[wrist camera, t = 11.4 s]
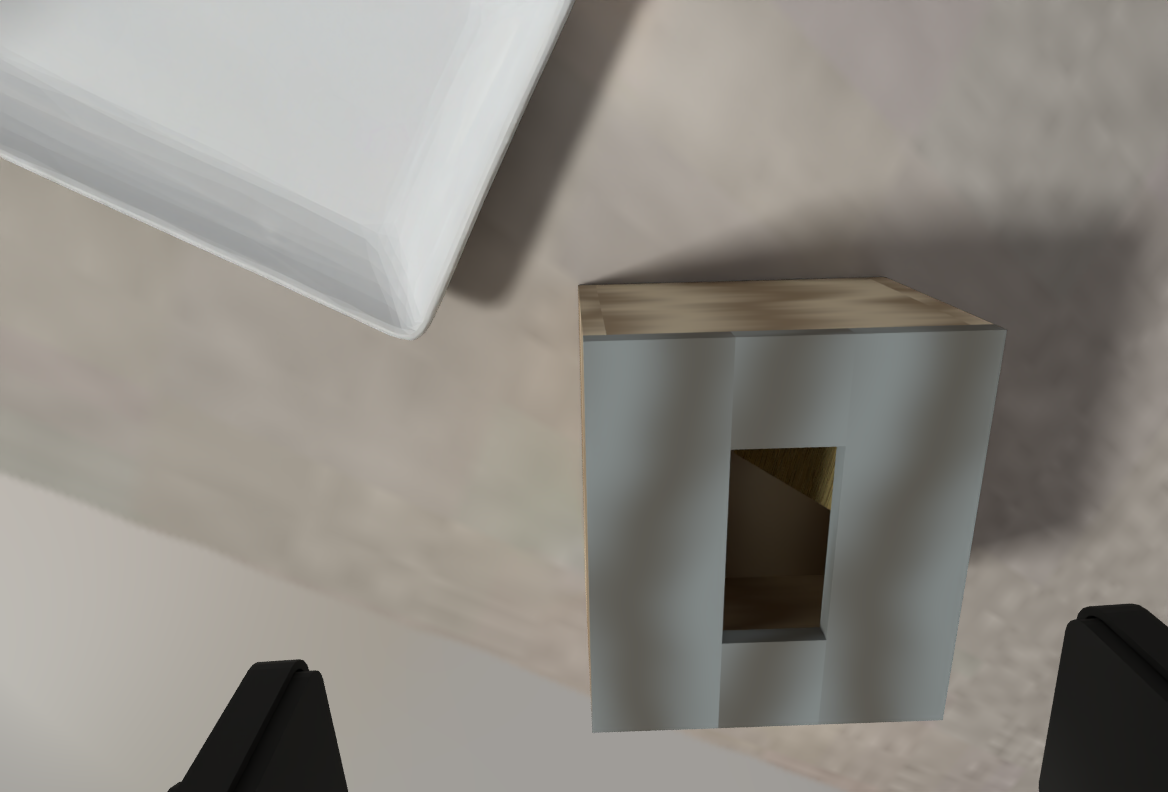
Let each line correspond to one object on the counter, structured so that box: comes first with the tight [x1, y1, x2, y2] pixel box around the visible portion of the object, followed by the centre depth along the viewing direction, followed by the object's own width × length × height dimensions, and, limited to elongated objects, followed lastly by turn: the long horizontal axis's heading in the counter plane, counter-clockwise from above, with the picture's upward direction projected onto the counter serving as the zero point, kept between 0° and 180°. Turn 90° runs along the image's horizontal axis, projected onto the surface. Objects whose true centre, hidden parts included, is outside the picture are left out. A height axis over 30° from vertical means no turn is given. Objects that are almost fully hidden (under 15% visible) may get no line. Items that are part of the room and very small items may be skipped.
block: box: [734, 447, 837, 510], centre depth 33 cm, size 2×5×6 cm
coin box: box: [578, 277, 1007, 733], centre depth 32 cm, size 14×16×10 cm
